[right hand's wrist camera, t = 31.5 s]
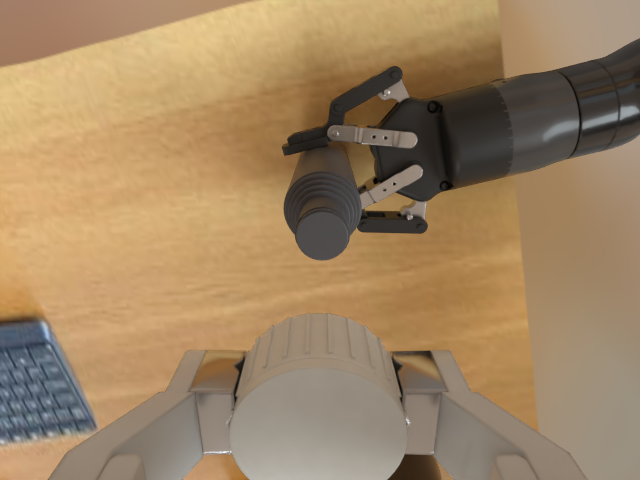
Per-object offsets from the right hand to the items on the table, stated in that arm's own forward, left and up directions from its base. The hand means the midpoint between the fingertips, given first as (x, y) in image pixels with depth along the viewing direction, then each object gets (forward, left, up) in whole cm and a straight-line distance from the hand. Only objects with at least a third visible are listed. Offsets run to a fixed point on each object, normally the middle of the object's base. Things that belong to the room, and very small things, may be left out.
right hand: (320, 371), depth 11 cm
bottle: (0, 0, -32) cm, 32 cm away
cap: (0, 0, +2) cm, 2 cm away
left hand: (-2, -2, -26) cm, 26 cm away
